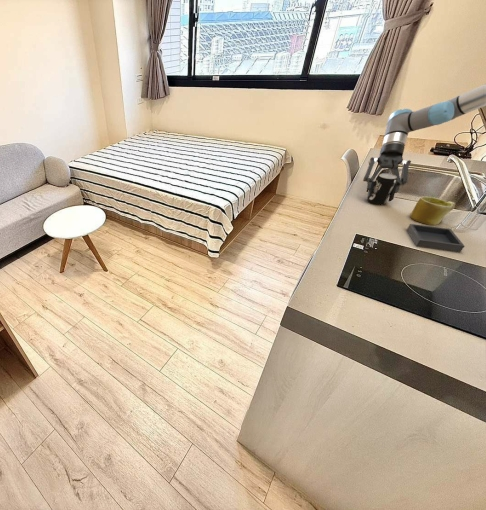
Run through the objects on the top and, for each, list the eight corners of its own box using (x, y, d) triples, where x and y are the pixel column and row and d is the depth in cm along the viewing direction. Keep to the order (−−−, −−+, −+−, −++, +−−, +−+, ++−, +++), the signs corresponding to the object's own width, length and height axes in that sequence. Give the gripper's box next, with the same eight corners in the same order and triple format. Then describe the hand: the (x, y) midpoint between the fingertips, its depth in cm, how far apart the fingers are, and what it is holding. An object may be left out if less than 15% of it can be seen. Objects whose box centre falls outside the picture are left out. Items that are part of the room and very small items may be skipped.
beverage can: (362, 200, 120) (374, 173, 113) (376, 199, 121) (389, 172, 114) (373, 207, 115) (387, 179, 108) (388, 205, 116) (402, 177, 108)
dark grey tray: (445, 236, 96) (450, 228, 94) (459, 253, 88) (464, 246, 86) (405, 230, 100) (410, 223, 98) (415, 247, 92) (420, 239, 90)
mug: (420, 223, 99) (435, 196, 96) (399, 218, 109) (412, 193, 106) (456, 231, 99) (472, 203, 95) (432, 225, 108) (445, 200, 105)
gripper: (418, 153, 114) (405, 205, 113) (361, 149, 123) (349, 198, 121) (428, 143, 108) (414, 198, 106) (367, 140, 116) (354, 191, 114)
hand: (379, 198), depth 113 cm, fingers closed on beverage can, 7 cm apart
